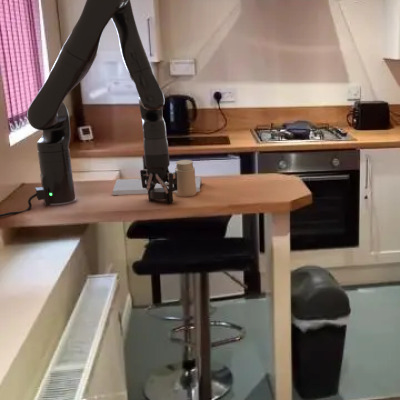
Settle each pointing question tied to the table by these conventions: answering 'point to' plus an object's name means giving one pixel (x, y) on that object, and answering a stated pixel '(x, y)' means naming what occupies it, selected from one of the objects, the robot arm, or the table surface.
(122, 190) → the crown molding
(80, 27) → the robot arm
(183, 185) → the coffee jar
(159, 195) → the jar lid
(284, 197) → the table surface
